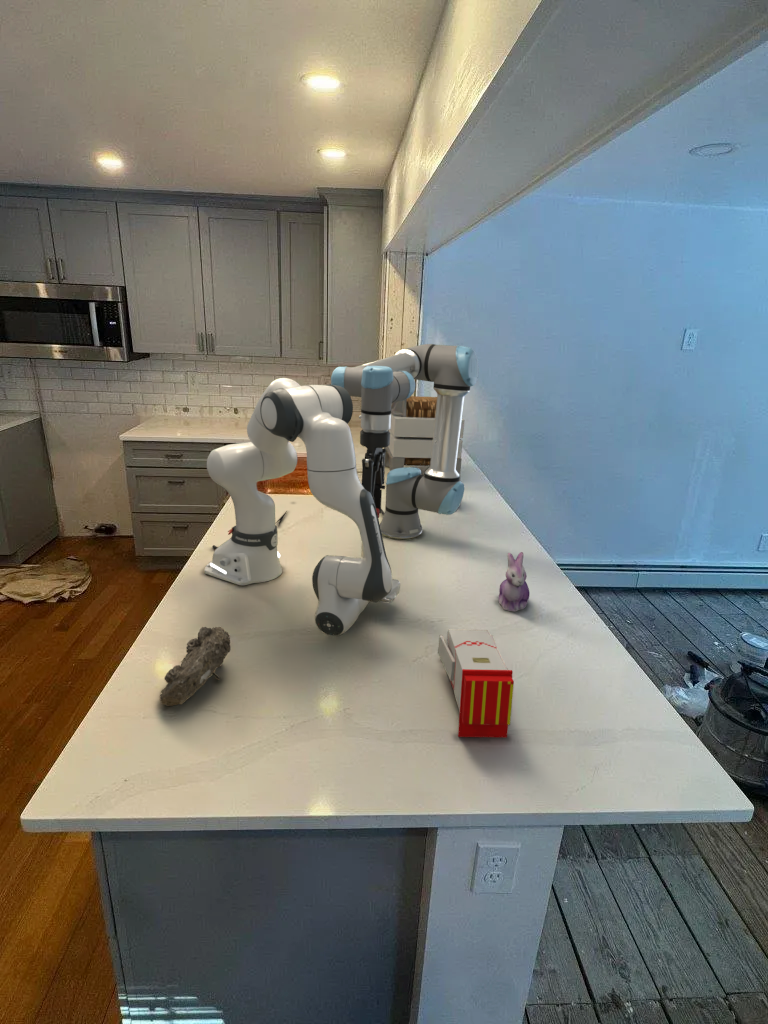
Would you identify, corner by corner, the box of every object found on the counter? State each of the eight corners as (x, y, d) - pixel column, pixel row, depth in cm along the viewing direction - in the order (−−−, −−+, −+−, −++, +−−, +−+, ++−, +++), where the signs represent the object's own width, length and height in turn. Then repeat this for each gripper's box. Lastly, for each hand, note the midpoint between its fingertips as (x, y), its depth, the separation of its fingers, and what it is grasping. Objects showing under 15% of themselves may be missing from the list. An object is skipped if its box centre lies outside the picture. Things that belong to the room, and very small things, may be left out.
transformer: (382, 463, 289) (386, 382, 275) (445, 464, 293) (451, 384, 279) (390, 482, 257) (394, 392, 243) (460, 483, 261) (468, 394, 247)
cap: (363, 515, 151) (363, 507, 150) (376, 514, 152) (377, 506, 151) (366, 520, 147) (367, 512, 147) (381, 519, 149) (381, 511, 148)
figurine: (511, 616, 149) (518, 564, 143) (487, 598, 157) (493, 549, 152) (539, 609, 153) (547, 558, 148) (514, 592, 161) (521, 544, 156)
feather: (294, 505, 227) (296, 501, 226) (277, 528, 200) (280, 524, 199) (290, 503, 226) (292, 499, 226) (273, 526, 200) (276, 521, 199)
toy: (488, 613, 130) (523, 677, 101) (484, 667, 133) (517, 744, 104) (435, 612, 130) (455, 676, 101) (432, 666, 133) (451, 743, 103)
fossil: (184, 629, 128) (231, 598, 123) (214, 657, 131) (261, 628, 126) (138, 700, 109) (191, 667, 104) (173, 731, 112) (227, 701, 107)
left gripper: (392, 590, 140) (407, 568, 152) (316, 576, 145) (337, 555, 158) (391, 613, 142) (406, 589, 154) (316, 598, 148) (336, 576, 160)
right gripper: (371, 422, 151) (368, 503, 159) (348, 435, 134) (346, 526, 142) (398, 424, 150) (394, 507, 157) (379, 438, 132) (375, 530, 140)
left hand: (370, 572), depth 156 cm, fingers closed on bottle, 5 cm apart
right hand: (372, 516), depth 150 cm, fingers open, 6 cm apart
